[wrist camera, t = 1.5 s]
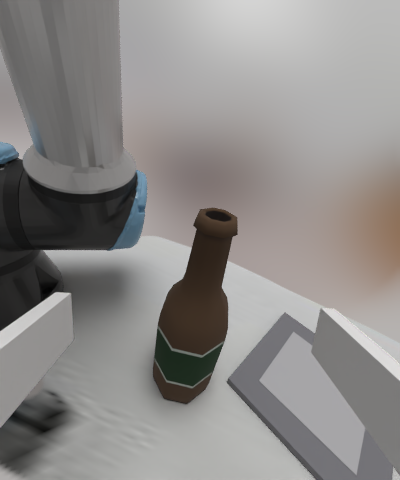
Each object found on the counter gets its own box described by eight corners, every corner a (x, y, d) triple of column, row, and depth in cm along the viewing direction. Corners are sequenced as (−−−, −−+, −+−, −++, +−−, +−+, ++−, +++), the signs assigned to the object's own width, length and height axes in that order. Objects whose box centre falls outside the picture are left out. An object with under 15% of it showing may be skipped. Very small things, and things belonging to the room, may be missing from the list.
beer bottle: (216, 399, 27) (288, 241, 15) (154, 413, 24) (178, 240, 12) (200, 342, 33) (242, 199, 21) (150, 349, 31) (163, 193, 18)
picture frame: (226, 382, 29) (228, 378, 28) (282, 315, 41) (284, 312, 40) (380, 548, 19) (387, 546, 18) (394, 396, 31) (398, 392, 30)
